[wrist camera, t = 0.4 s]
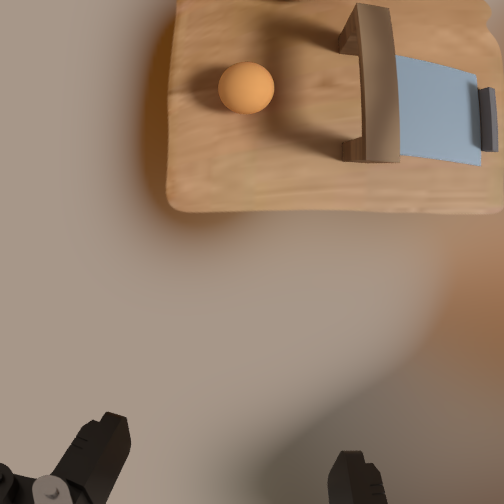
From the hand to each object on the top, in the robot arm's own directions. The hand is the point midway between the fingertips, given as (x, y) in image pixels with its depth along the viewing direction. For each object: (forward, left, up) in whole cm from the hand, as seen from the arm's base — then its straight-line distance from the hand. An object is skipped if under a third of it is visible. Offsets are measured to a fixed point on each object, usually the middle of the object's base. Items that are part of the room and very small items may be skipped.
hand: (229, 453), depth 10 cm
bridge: (-20, +3, -27) cm, 34 cm away
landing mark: (-24, +14, -27) cm, 38 cm away
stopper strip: (-26, +20, -27) cm, 43 cm away
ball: (-16, -7, -24) cm, 30 cm away
